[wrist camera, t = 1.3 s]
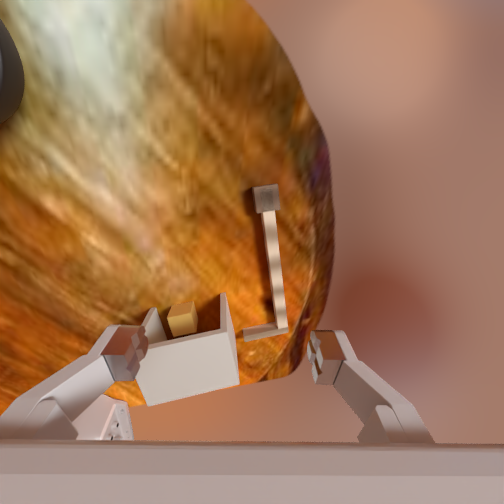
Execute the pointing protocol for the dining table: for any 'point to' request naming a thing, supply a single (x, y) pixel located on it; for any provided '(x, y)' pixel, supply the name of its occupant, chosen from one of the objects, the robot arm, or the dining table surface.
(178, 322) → the ochre cube
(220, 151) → the dining table surface
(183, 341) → the cubby
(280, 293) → the pale grey hook
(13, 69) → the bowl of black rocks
